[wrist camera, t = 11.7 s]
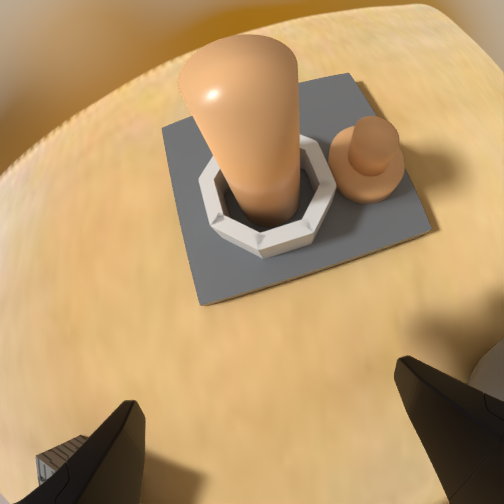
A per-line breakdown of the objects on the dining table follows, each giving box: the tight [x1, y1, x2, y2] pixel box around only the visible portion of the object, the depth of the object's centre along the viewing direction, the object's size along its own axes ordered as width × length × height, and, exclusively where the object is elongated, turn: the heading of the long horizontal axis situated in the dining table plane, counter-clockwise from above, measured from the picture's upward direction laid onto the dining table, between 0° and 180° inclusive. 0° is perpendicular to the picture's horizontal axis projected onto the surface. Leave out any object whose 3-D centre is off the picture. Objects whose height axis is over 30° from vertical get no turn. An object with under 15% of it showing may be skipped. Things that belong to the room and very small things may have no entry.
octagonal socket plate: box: [162, 73, 432, 306], centre depth 21 cm, size 16×18×6 cm
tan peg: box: [178, 35, 300, 227], centre depth 16 cm, size 4×4×13 cm
